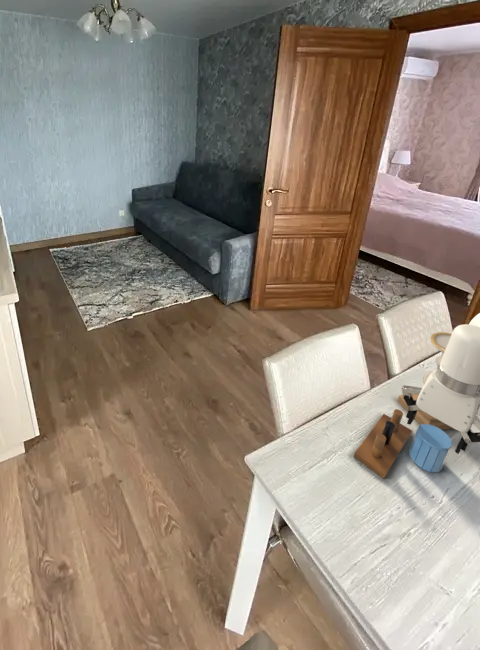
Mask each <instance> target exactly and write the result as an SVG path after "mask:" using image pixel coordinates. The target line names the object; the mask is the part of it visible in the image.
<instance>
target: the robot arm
mask: <svg viewBox="0 0 480 650" xmlns="http://www.w3.org/2000/svg"><path fill="white" fill-rule="evenodd" d="M451 334H452V335H451V337H450V339H449V342H448V344H447V347H446V349H445V352H444V354H443V357H442V359H441V362H440V364H439V367H438V369H436V368H435V369H436V370H434V369H432V370H433V371H432V370H431V371H432V373H431V374H430V375H429V377H428V378H427V380H426V382H425V384H424V383H423V386H422V387H418V386H412V385H405V384H404V385H402V387H401V388H400V389H401V393H402V395H403V396H404V397H403V398H404V400H405V402H406V404H407V405H408V409H409V410H408V411H407V413H406V415H405V418H406V419H408V420H407V422H406V424H407V425H409V426H411V425H412V423H413V421H414V420H415V419H414V418H415V416H416V413H417V411H418V410H422V411H424V412H426V413H427V414H429V415H431V416H433V417H434V418H436V419H438V420H440V421H441V422H443V423H445V424H447V425H449V426H450V427H452V428H451V429H454V430H456V431H458V432H459V433H460V435H461V437H460V439H459V440H458V441H459V442H458V443H457V446H456V448H455V450H454V452H455V454H457V455H459V454H460V452H461V451H463V452H466V450H467V448H468V445H469V444H470V445H471V444H472V443H480V432H473V430H472V426H473V425H474V426H475V427H476V428H477V429H478V430H479V431H480V418H479V417H478V416H477V415H478V412H479V411H480V312H479V313H478V314H476V315H475V316H473V318H472V319H471V320H470V322H469V323H468V324H467V323H465V324H459V325H457V326H456V327H454V328H453V330H452V333H451ZM410 393H411V394H417V395H419V396H418V399H417V400H414V399H413V398H412V396H411V395H410Z"/></svg>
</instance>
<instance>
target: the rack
mask: <svg viewBox="0 0 480 650" xmlns="http://www.w3.org/2000/svg"><path fill="white" fill-rule="evenodd" d="M403 416H404V413H403V411H402V410H401V409H398V408H396V409H394V410H393V412H392V416H391V417H390V416H389V415H387V414H386V413H383V414H382V415H381V417H380V418H379V419H378V421H377V422H376V423H375V425H374V426H373V428H372V429H371V430H370V431H369V433H368V434H367V435H366V437H365V438H364V439H363V441H362V442H361V444H360V445H359V446H358V448H357V449H356V450H355V452H354V454H353V458H354V459H356V460H357V461H358V462H360V463H361V464H363V465H364V466H365V467H366V468H368V469H369V470H371V471H372V472H373V473H375V474H377V475H378V476H379V477H380V478H382V479H385V478H386V477H387V475H388V473H389V471H390V470H391V468H392V466H393V465H394V463H395V462H396V460H397V458H398V457H399V455H400V453H401V451H402V450H403V448H404V447H405V445H406V444H407V443H408V440H409V438H410V437H411V435H412V433H413V430H412V429H410V428H409V427H407V426H406V425H404V424H402V423H401V421H402V419H403Z"/></svg>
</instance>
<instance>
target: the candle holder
mask: <svg viewBox="0 0 480 650" xmlns="http://www.w3.org/2000/svg"><path fill="white" fill-rule="evenodd" d="M451 335H452V333H450V332H445V331H440V332H439V331H438V332H434V333H432V334H431V336H430V342H431V344H432V346H433V347H434V348H435V349H437V350H438V351H440V352H441V355H439V356H437V357H435V359H434V360H435V364H436V368H434V369H432V370H430V371H428V372H426V373H425V374H424V375H423V376H422V377H423V378H422V383H423V385H424V384H425V382H426V380H427V378H428V377H429V375H430V374H431V373H432V371H433V370H436V369H438V367H439V364H440V362H441V359H442V357H443V354H444V352H445V349H446V347H447V344H448V342H449V339H450V337H451ZM410 395H411V396H412V398H413V399H414V400H417V399H418V396H419V395H417V394H411V393H410ZM403 397H404V396H403V394H400V395H399V396H398V398H397V402H398V403H399V404H400V406H402V407H403V409H404V410H405V411H406V412H408V410H409V409H408V405H407V404H406V402H405V400H404V398H403ZM414 420H415V421H416V422H417V423H418V424H419V426H420V425H422V424H429V425H433V426H435V427H437V428H439V429H441V430H442V431H445V430H449V429H453V428H452V427H450V426H449V425H447V424H445V423H443V422H441V421H440V420H438V419H436V418H434V417H433V416H431V415H429V414H427V413H426V412H424V411H422V410H418V411H417V413H416V416H415V418H414Z"/></svg>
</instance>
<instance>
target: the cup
mask: <svg viewBox="0 0 480 650" xmlns="http://www.w3.org/2000/svg"><path fill="white" fill-rule="evenodd" d="M452 445H453V442H452V439H451V437H450V436H449V435H448V434H447V433H446V432H445V430H441V429H439V428H437V427H435V426H433V425H429V424H422V425H420V424H419V426H418V427H417V429H416V431H415V434H414V437H413V439H412V442H411V444H410V446H409V449H408V452H409V453H408V455H409V457H410V459H411V460H412V462H413V463H414V464H415V465H417V466H418V467H419V468H420V469H422V470H424V471H426V472H428V473H439V472H440V471H442V469H443V467H444V465H445V463H446V460H447V458H448V456H449V453H450V451H451V450H452Z"/></svg>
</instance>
